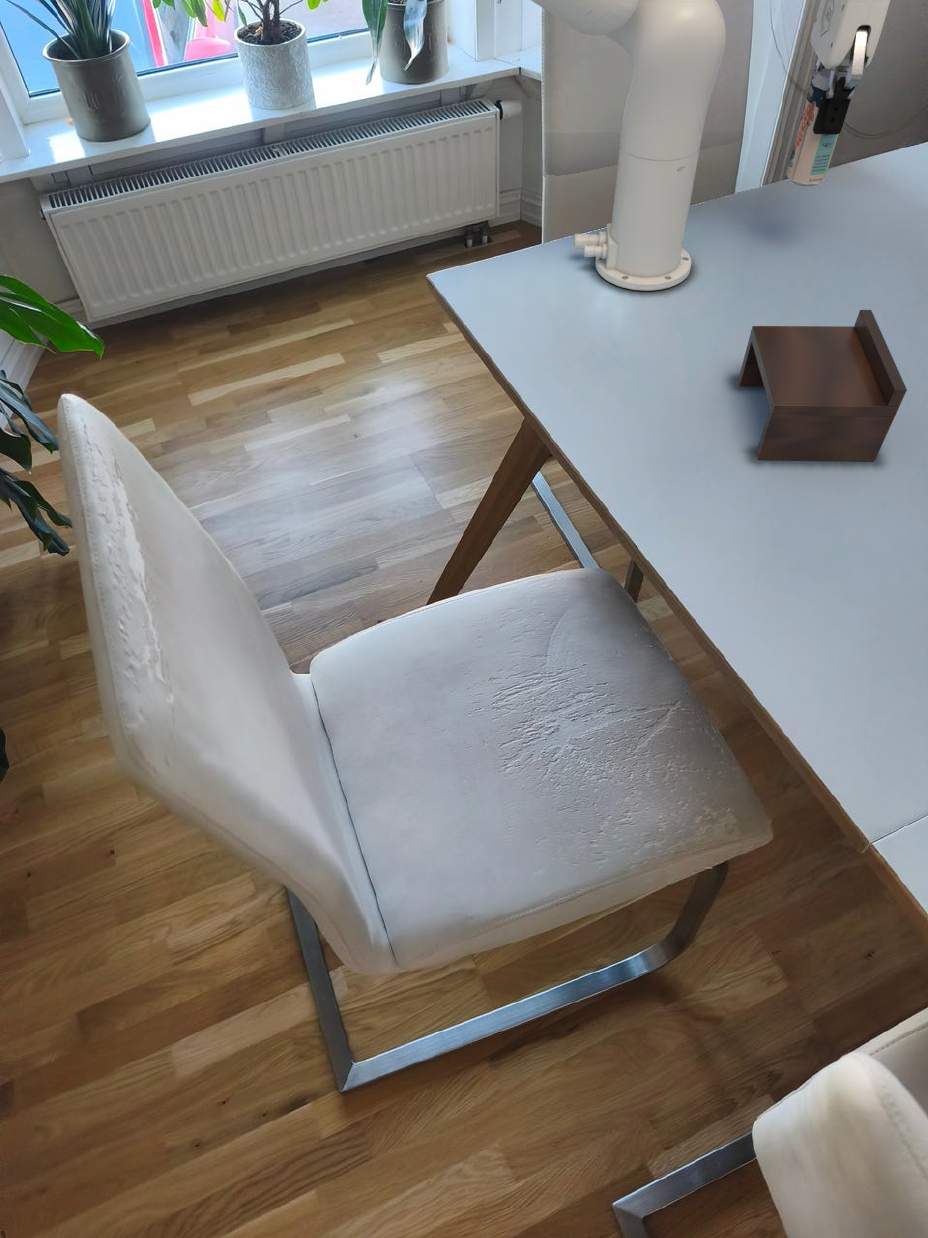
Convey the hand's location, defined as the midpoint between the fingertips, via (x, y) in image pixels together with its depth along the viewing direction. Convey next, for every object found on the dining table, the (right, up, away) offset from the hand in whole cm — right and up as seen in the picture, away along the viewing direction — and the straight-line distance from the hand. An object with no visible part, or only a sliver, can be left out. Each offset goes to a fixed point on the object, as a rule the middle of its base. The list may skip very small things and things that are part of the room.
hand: (821, 121), depth 103 cm
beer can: (0, -4, +5) cm, 7 cm away
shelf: (-6, -38, -9) cm, 40 cm away
